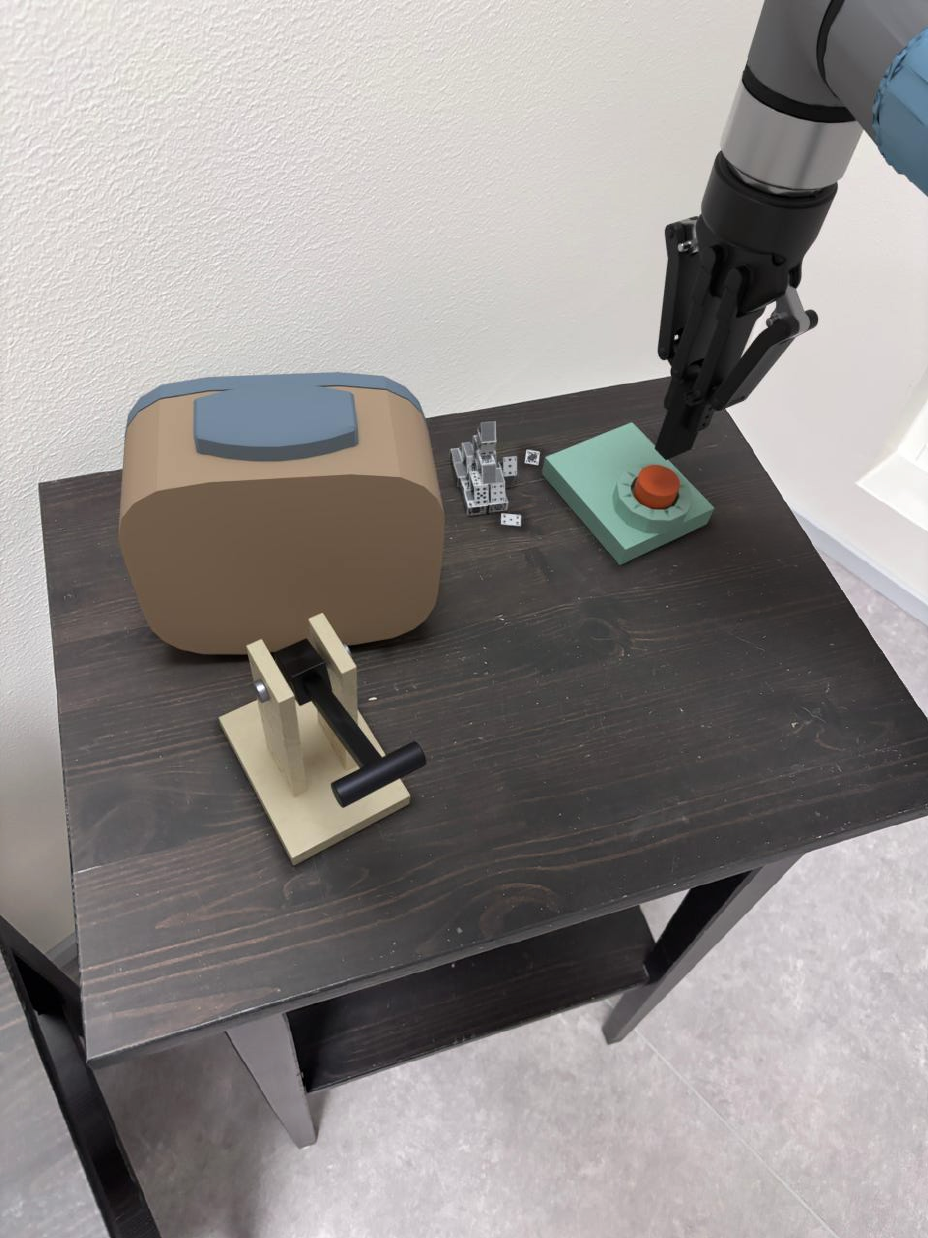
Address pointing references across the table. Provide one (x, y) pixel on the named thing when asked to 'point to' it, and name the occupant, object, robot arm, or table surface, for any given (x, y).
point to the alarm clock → (280, 510)
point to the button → (656, 487)
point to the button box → (622, 493)
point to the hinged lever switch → (304, 752)
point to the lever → (344, 726)
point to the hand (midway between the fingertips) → (672, 448)
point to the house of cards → (486, 474)
